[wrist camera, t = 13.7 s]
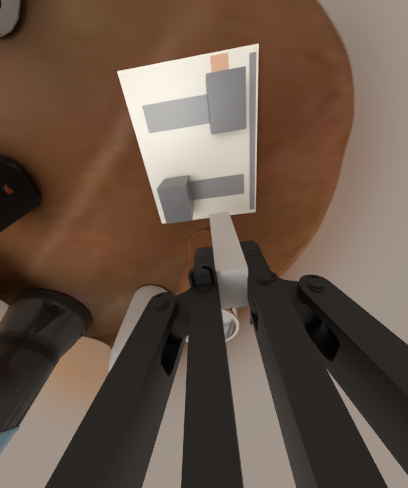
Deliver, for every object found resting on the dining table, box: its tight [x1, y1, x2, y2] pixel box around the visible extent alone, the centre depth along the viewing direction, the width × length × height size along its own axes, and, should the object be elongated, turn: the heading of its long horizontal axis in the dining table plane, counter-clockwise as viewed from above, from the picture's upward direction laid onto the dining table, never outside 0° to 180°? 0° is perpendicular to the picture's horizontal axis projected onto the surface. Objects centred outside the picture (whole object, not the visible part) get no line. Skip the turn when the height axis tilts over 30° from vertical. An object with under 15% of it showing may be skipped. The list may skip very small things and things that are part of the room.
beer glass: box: [177, 230, 239, 342], centre depth 25 cm, size 7×7×15 cm
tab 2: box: [206, 66, 246, 134], centre depth 17 cm, size 3×4×4 cm
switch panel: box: [117, 44, 259, 224], centre depth 22 cm, size 13×16×3 cm
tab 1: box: [157, 175, 194, 224], centre depth 21 cm, size 3×4×4 cm
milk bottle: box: [109, 285, 168, 372], centre depth 30 cm, size 8×8×20 cm
